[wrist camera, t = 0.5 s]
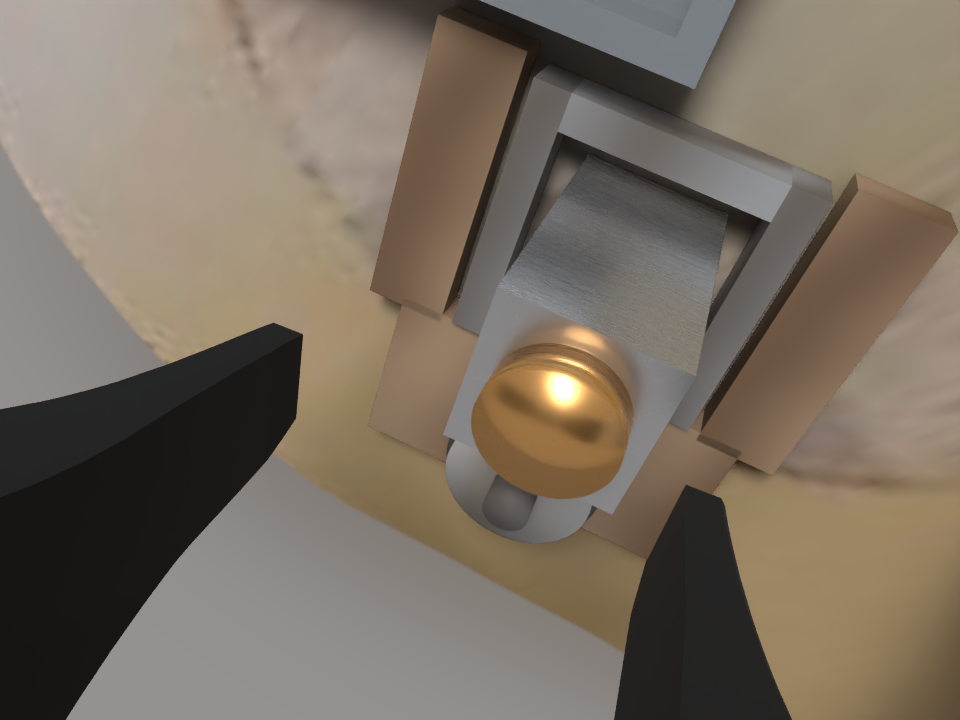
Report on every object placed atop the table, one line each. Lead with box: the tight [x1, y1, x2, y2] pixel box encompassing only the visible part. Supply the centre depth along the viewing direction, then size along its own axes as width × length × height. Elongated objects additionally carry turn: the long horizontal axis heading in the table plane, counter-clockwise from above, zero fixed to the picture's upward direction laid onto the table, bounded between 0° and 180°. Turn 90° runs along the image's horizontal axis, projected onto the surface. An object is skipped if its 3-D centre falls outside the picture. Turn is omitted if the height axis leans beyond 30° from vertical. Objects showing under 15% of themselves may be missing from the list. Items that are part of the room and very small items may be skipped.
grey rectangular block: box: [443, 155, 728, 515], centre depth 19 cm, size 4×4×9 cm
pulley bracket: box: [368, 7, 958, 559], centre depth 22 cm, size 13×14×4 cm
